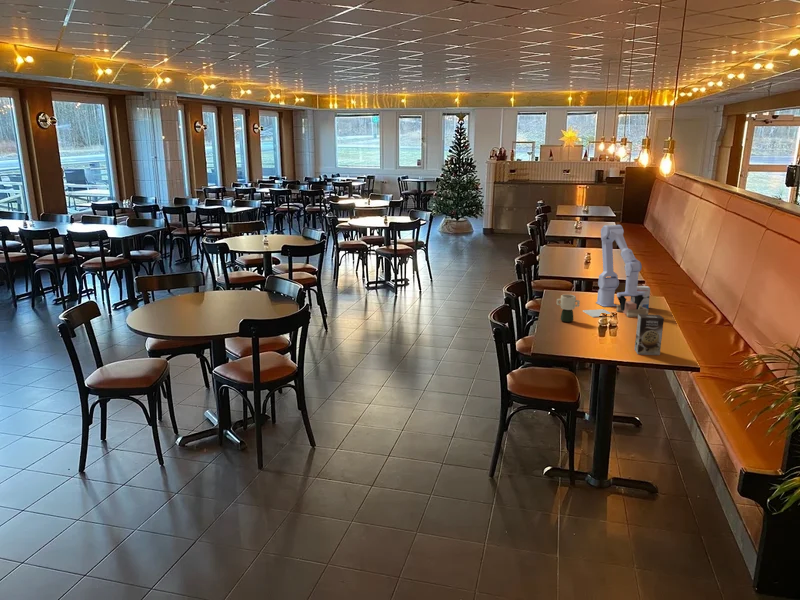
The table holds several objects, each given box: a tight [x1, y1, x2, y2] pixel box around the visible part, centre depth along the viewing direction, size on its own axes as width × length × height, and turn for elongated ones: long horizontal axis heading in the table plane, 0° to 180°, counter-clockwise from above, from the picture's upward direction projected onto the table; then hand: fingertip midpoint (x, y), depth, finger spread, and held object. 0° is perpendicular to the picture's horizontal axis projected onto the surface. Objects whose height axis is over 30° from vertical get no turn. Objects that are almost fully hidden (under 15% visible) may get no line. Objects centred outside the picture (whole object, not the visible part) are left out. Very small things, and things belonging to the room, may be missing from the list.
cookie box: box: [634, 313, 665, 356], centre depth 251 cm, size 9×6×16 cm
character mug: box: [556, 294, 581, 323], centre depth 298 cm, size 11×7×13 cm, turn 71°
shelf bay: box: [616, 304, 649, 318], centre depth 312 cm, size 11×11×4 cm
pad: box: [582, 308, 611, 318], centre depth 313 cm, size 12×12×1 cm
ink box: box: [630, 285, 651, 310], centre depth 322 cm, size 8×5×12 cm, turn 84°
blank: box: [622, 300, 637, 315], centre depth 311 cm, size 6×4×6 cm, turn 9°
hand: (629, 309), depth 312 cm, fingers open, 7 cm apart
